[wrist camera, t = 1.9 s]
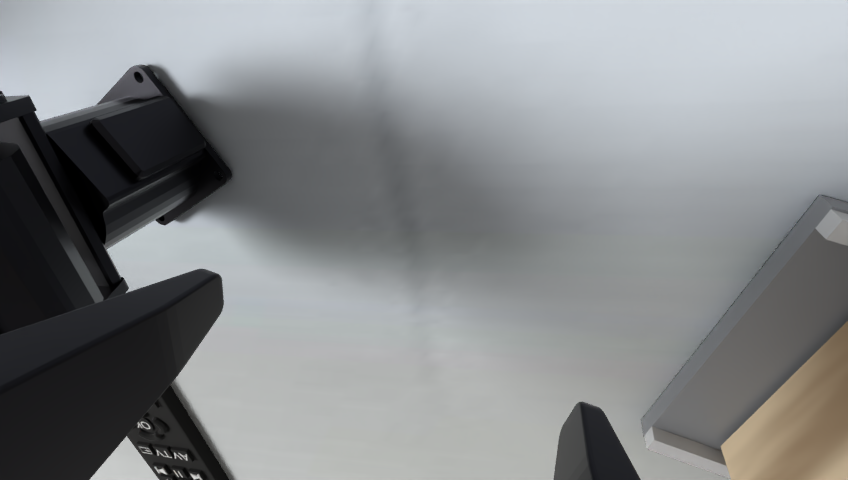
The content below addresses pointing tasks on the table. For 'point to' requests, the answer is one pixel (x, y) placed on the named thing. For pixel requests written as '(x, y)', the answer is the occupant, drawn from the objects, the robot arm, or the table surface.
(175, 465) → the remote control
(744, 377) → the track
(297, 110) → the table surface
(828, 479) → the plate
